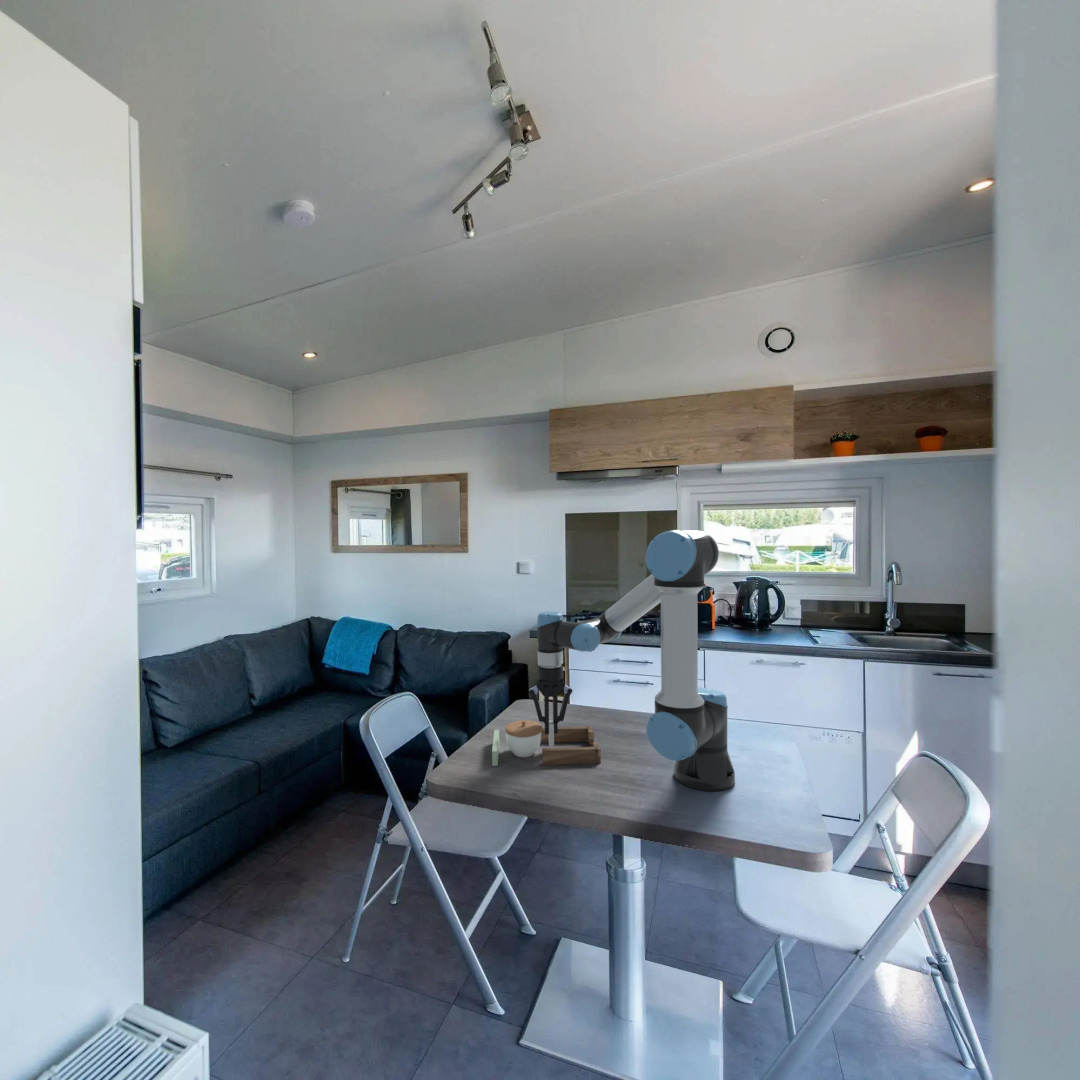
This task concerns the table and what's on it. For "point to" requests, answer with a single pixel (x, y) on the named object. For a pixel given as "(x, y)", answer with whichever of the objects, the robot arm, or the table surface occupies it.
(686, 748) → the robot arm
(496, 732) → the rail
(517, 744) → the lidded jar
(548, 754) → the cradle
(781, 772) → the table surface
